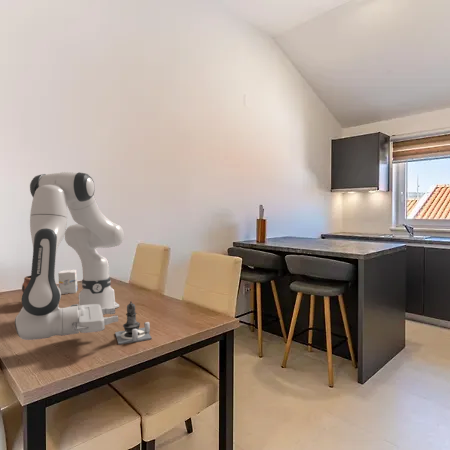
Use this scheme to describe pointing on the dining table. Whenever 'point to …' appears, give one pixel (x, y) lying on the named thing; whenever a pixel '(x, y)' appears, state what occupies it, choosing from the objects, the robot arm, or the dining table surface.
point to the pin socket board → (123, 341)
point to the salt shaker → (131, 320)
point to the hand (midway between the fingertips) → (116, 314)
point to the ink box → (68, 281)
